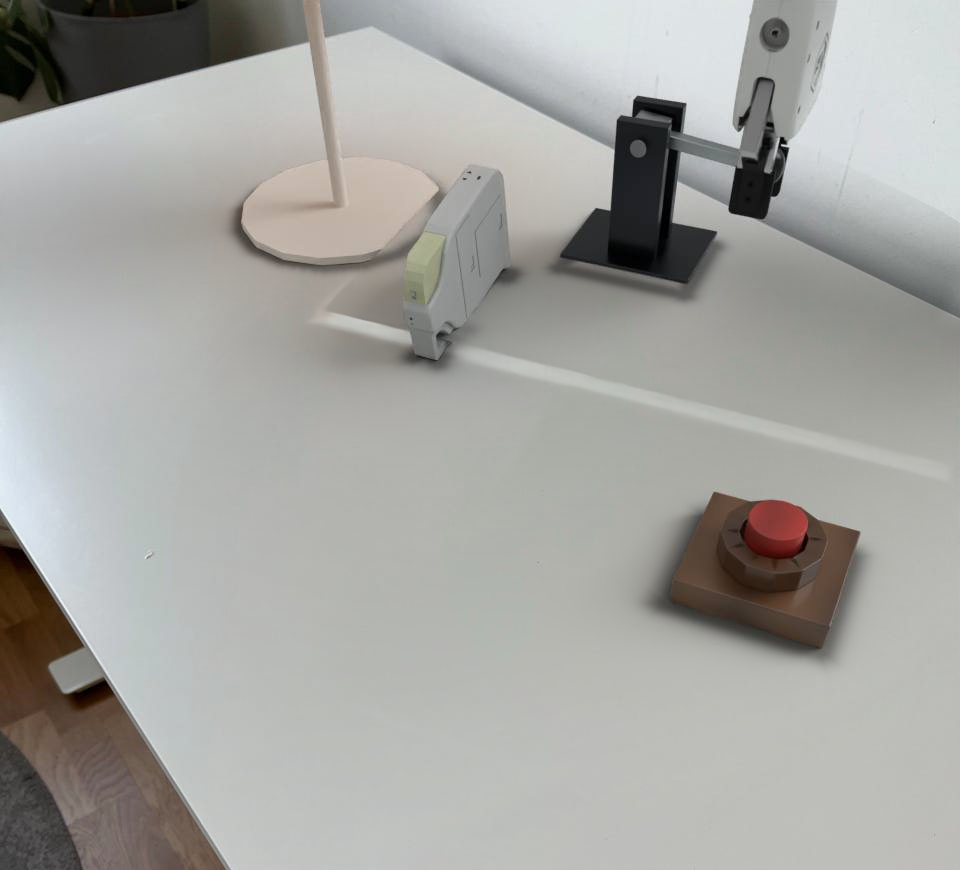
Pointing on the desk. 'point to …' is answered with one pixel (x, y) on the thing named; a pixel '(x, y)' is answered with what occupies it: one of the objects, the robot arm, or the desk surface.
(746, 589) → the button block
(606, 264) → the lever bracket
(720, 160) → the tap lever
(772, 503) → the button
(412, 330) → the grey clip-foot housing
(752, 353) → the desk surface
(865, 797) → the desk surface
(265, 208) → the desk lamp
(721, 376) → the desk surface
